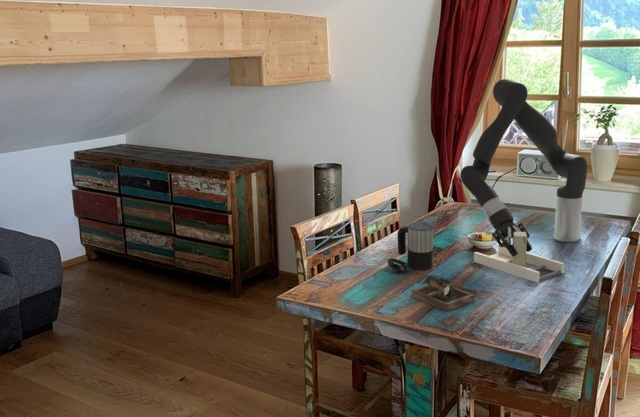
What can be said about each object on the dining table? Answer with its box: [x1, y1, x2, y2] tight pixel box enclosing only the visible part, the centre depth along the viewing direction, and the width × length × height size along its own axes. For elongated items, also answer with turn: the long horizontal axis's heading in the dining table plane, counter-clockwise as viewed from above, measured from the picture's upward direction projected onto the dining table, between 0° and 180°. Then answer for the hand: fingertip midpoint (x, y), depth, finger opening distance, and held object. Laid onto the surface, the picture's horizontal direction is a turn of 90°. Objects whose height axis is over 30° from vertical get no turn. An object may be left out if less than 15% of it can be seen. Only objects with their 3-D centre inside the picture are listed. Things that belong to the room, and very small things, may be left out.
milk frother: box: [387, 221, 435, 273], centre depth 236 cm, size 14×16×15 cm
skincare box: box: [511, 232, 528, 268], centre depth 233 cm, size 6×4×12 cm
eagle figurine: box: [425, 275, 456, 301], centre depth 210 cm, size 8×7×9 cm
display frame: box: [411, 282, 475, 312], centre depth 210 cm, size 12×15×2 cm
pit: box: [532, 265, 562, 283], centre depth 227 cm, size 11×7×1 cm, turn 125°
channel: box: [473, 245, 565, 283], centre depth 235 cm, size 14×27×4 cm, turn 35°
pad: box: [490, 252, 512, 263], centre depth 242 cm, size 11×8×1 cm
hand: (522, 252), depth 232 cm, fingers closed on skincare box, 7 cm apart
